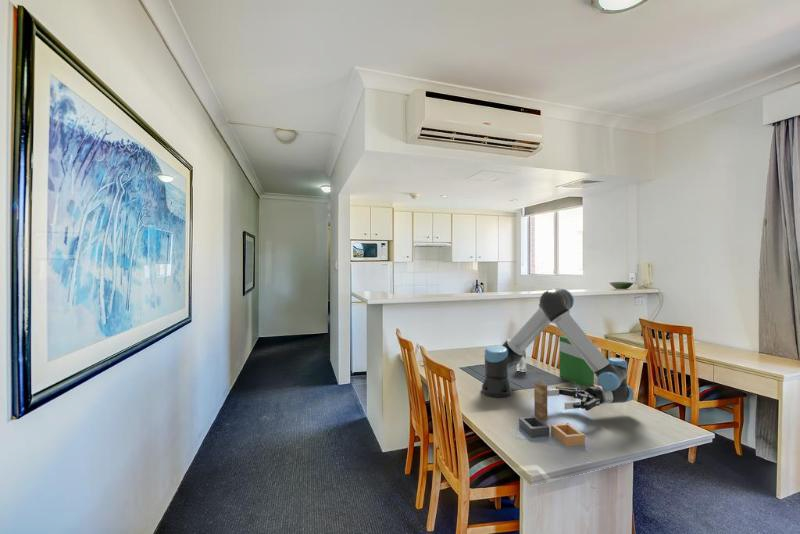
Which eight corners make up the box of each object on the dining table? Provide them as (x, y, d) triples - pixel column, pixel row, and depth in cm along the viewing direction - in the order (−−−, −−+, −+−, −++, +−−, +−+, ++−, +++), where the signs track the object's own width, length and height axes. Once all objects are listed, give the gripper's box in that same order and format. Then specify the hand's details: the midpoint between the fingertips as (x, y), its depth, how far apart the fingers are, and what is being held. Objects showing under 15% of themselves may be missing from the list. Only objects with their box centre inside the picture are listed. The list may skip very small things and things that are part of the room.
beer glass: (526, 373, 204) (525, 349, 204) (514, 372, 208) (514, 348, 207) (528, 370, 210) (528, 346, 210) (517, 368, 213) (516, 345, 213)
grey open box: (531, 437, 128) (531, 428, 128) (519, 426, 137) (518, 417, 137) (549, 436, 129) (549, 427, 129) (535, 424, 138) (535, 416, 138)
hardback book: (559, 375, 200) (559, 336, 199) (570, 374, 202) (569, 335, 201) (582, 386, 183) (582, 342, 182) (593, 384, 184) (593, 341, 184)
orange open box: (566, 446, 122) (566, 436, 122) (551, 433, 131) (551, 424, 131) (584, 444, 123) (584, 435, 123) (568, 431, 132) (568, 422, 132)
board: (516, 440, 128) (516, 437, 128) (518, 424, 141) (518, 421, 141) (587, 454, 118) (587, 451, 118) (583, 435, 131) (583, 432, 131)
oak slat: (541, 423, 142) (540, 385, 141) (534, 417, 147) (534, 381, 146) (547, 422, 142) (547, 385, 142) (540, 417, 147) (540, 381, 147)
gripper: (621, 416, 136) (574, 421, 132) (578, 392, 161) (538, 396, 157) (621, 398, 136) (574, 402, 132) (578, 377, 161) (538, 380, 157)
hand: (554, 399), depth 145 cm, fingers open, 13 cm apart
